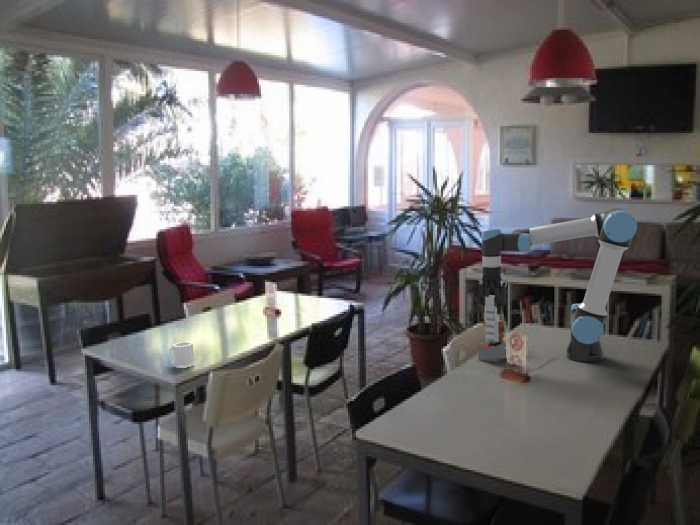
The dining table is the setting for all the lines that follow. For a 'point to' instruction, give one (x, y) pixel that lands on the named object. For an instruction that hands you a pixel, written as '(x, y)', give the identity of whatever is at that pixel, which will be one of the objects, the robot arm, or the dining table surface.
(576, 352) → the robot arm
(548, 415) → the dining table surface
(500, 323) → the mug
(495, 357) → the stand base
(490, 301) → the column
